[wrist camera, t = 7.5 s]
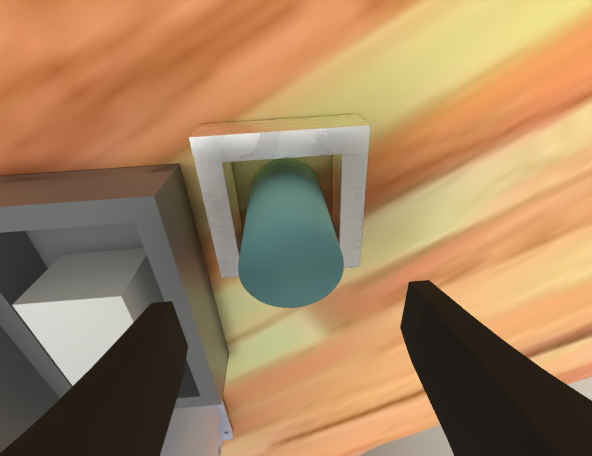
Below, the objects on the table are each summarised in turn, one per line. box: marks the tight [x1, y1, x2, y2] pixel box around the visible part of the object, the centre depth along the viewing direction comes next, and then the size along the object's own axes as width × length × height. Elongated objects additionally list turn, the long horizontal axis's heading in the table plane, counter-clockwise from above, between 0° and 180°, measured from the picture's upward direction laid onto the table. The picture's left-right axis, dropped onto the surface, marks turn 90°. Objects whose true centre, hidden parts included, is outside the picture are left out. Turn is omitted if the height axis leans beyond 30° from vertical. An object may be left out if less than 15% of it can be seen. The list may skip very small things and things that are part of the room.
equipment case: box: [0, 164, 229, 453], centre depth 14 cm, size 16×11×14 cm
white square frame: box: [189, 114, 370, 278], centre depth 16 cm, size 8×8×2 cm
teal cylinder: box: [238, 159, 344, 308], centre depth 15 cm, size 4×4×7 cm
